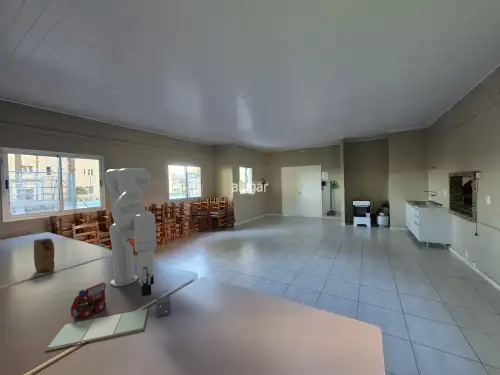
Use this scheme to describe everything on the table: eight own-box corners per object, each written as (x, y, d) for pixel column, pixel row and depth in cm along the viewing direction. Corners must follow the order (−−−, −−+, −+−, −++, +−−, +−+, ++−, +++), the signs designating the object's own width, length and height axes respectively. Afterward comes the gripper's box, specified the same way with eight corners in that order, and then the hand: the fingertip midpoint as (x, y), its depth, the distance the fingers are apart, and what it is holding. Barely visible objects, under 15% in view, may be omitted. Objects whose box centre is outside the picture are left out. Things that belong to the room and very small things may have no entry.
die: (156, 297, 92) (170, 295, 94) (155, 310, 92) (169, 308, 94) (156, 303, 88) (171, 301, 90) (155, 317, 88) (170, 315, 90)
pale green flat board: (65, 325, 85) (65, 323, 85) (148, 310, 93) (148, 308, 93) (45, 352, 72) (44, 349, 72) (143, 330, 80) (143, 328, 80)
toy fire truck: (67, 318, 90) (66, 292, 90) (101, 303, 100) (100, 280, 100) (75, 323, 86) (74, 296, 86) (110, 307, 97) (108, 283, 97)
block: (33, 271, 144) (31, 239, 144) (48, 267, 151) (46, 236, 151) (42, 273, 140) (40, 240, 139) (57, 269, 147) (55, 238, 146)
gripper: (138, 241, 96) (140, 282, 96) (130, 253, 79) (133, 302, 79) (158, 239, 98) (160, 279, 98) (154, 250, 81) (156, 298, 82)
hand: (148, 289), depth 89 cm, fingers open, 9 cm apart
